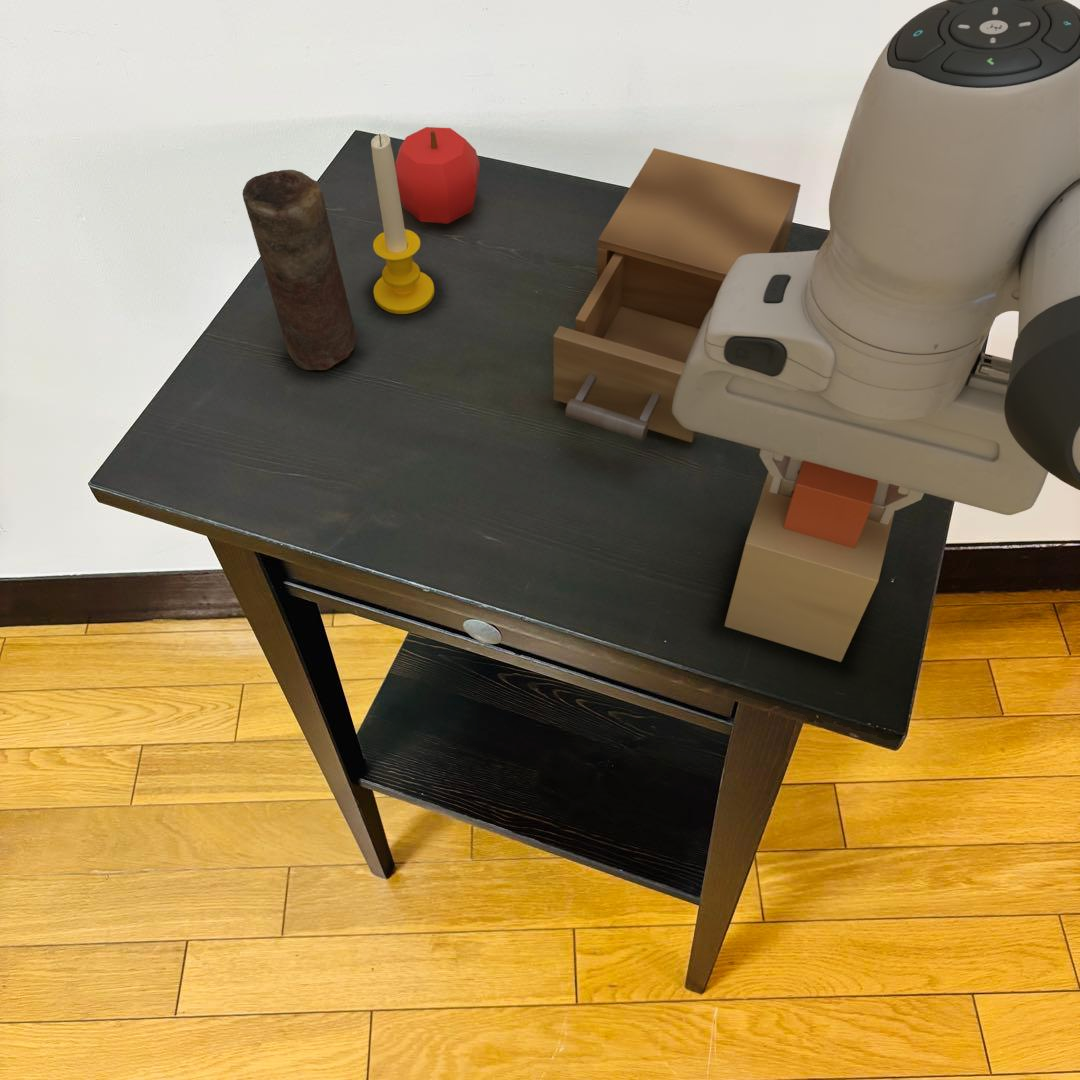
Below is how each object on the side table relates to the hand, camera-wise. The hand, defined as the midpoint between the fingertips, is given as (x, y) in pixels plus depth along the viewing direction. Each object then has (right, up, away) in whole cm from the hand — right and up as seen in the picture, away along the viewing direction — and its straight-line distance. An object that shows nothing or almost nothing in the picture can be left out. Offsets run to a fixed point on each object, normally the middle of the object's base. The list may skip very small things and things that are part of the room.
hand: (829, 500), depth 64 cm
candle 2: (-29, +19, +27) cm, 44 cm away
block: (0, -1, +1) cm, 1 cm away
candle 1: (-36, +13, +24) cm, 45 cm away
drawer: (-10, +10, +19) cm, 24 cm away
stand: (0, -6, +9) cm, 11 cm away
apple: (-27, +28, +34) cm, 51 cm away
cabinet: (-5, +19, +27) cm, 33 cm away
